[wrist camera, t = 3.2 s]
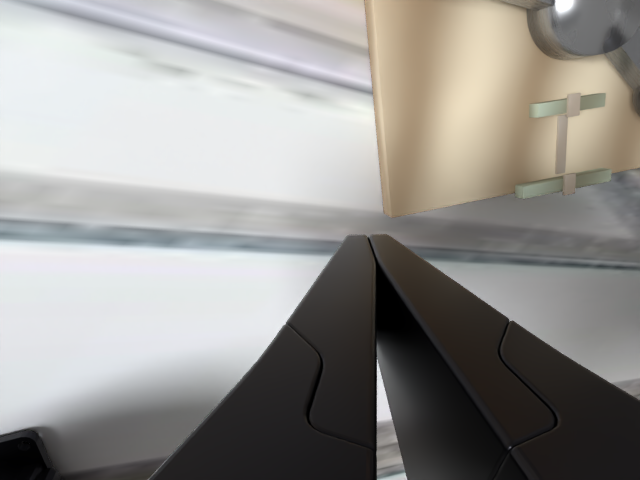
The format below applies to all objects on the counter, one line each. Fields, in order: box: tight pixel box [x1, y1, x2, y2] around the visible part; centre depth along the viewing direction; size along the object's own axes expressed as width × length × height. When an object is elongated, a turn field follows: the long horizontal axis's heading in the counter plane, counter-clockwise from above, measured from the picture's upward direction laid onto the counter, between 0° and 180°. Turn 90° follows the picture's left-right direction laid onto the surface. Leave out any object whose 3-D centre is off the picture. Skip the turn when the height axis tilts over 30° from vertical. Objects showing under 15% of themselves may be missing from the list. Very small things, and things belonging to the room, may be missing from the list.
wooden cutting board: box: [364, 0, 640, 218], centre depth 18 cm, size 16×17×2 cm
